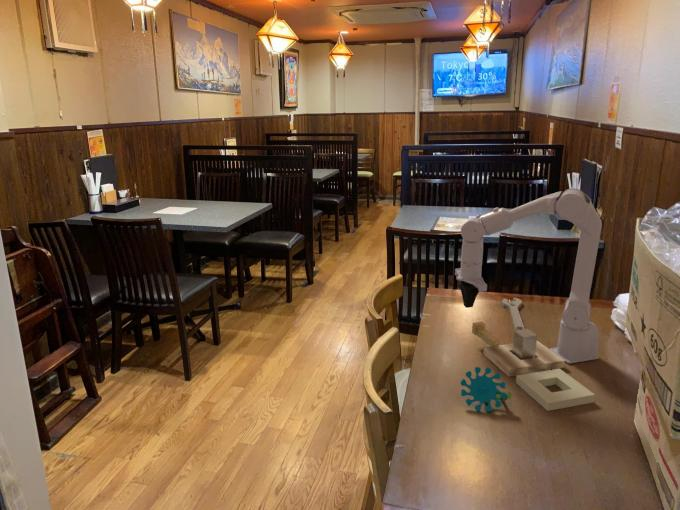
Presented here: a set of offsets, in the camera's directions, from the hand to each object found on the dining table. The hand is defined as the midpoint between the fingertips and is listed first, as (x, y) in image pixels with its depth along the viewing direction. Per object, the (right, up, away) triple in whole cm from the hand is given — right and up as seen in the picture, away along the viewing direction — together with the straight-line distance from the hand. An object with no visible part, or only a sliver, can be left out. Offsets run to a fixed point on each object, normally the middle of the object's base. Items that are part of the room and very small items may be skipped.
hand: (468, 306), depth 144 cm
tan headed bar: (+3, -8, -8) cm, 12 cm away
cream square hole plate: (+13, -17, -27) cm, 34 cm away
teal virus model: (-4, -19, -31) cm, 37 cm away
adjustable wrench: (+18, -5, +15) cm, 24 cm away
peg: (+11, -13, -13) cm, 21 cm away
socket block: (+11, -13, -13) cm, 21 cm away
